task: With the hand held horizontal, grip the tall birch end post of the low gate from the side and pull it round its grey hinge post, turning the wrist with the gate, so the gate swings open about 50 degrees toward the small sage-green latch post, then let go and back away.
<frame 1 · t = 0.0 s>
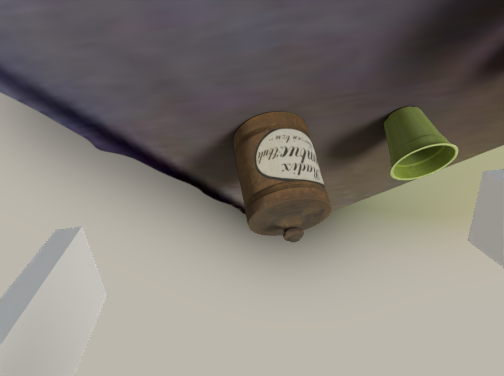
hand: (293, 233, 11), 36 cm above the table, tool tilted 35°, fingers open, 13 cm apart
plant pot: (400, 117, 66), on the table
wooden container: (269, 136, 65), on the table
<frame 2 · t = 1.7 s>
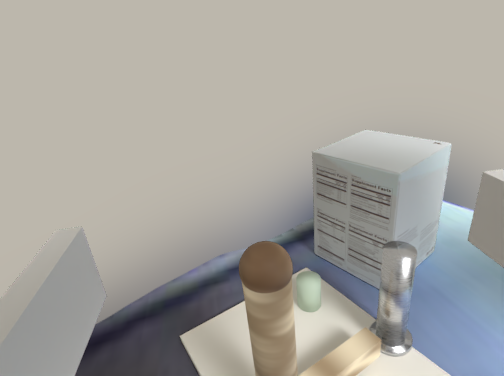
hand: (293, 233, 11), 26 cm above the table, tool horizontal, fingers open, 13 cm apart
latch post: (309, 303, 42), resting on board
hinge post: (389, 338, 36), resting on board
gate: (322, 317, 27), point 10 cm above the table, hinge at 0.0°
supplement box: (372, 253, 51), on the table
board: (303, 361, 35), on the table
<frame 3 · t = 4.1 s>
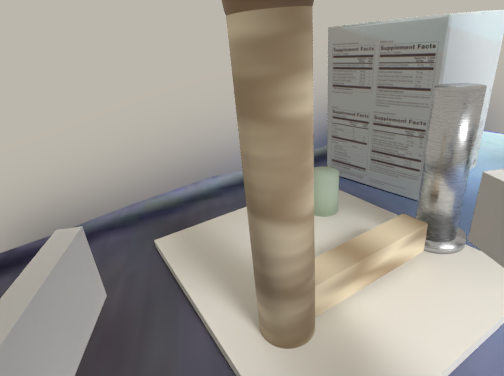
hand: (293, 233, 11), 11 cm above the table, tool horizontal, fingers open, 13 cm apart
latch post: (322, 209, 33), resting on board
hinge post: (433, 237, 27), resting on board
gate: (352, 155, 18), point 10 cm above the table, hinge at 0.0°
supplement box: (398, 171, 42), on the table
board: (317, 264, 26), on the table
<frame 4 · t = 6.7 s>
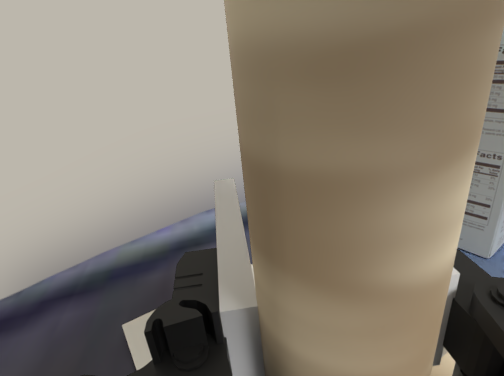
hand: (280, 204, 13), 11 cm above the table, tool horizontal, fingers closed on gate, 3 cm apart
gate: (466, 264, 9), point 10 cm above the table, hinge at 0.0°, touching gripper
supplement box: (440, 206, 33), on the table
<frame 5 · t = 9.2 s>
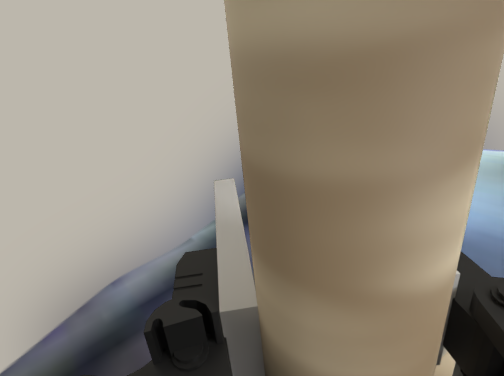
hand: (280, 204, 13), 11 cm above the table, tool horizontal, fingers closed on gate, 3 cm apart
gate: (465, 266, 9), point 11 cm above the table, hinge at -25.8°, touching gripper
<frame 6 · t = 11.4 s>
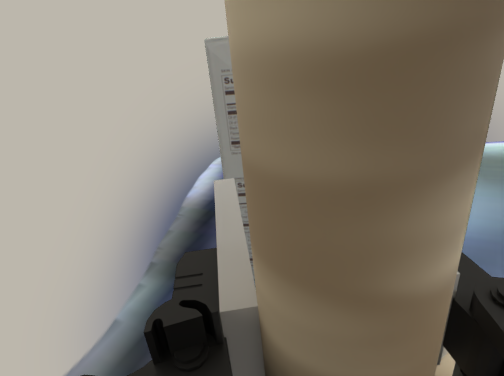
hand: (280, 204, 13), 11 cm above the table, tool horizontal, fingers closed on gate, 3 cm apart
gate: (466, 267, 9), point 10 cm above the table, hinge at -49.5°, touching gripper
supplement box: (308, 233, 31), on the table
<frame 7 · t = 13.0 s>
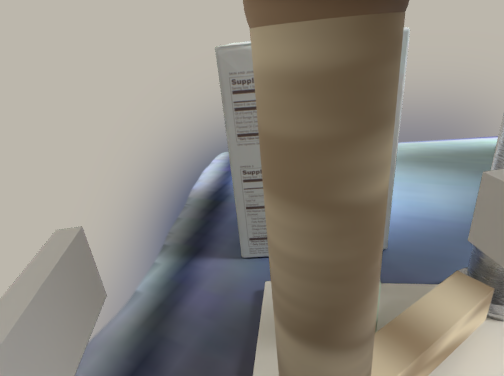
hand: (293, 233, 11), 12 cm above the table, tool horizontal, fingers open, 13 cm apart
hinge post: (489, 295, 21), resting on board
gate: (417, 220, 13), point 10 cm above the table, hinge at -49.6°
supplement box: (304, 219, 34), on the table
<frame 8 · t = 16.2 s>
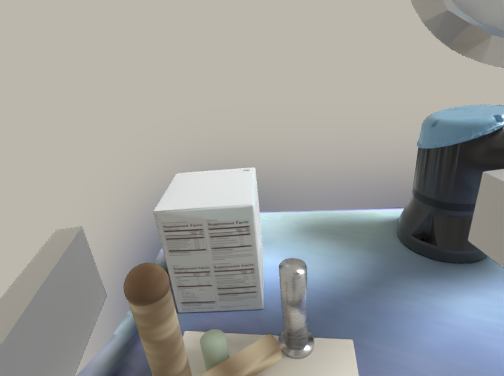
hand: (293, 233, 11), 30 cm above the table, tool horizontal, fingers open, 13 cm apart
latch post: (217, 363, 39), resting on board
hinge post: (296, 343, 41), resting on board
gate: (215, 325, 32), point 11 cm above the table, hinge at -49.6°
supplement box: (225, 282, 54), on the table
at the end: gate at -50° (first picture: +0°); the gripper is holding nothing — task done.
